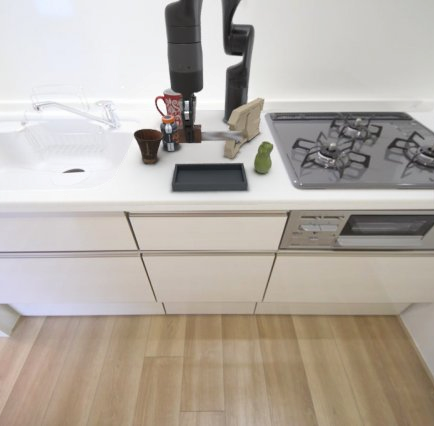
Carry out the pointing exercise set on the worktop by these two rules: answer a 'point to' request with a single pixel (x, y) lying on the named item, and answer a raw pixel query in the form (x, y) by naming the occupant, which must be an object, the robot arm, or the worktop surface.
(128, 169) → the worktop surface
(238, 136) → the knife
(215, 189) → the dark grey tray
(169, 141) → the pill bottle
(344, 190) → the worktop surface
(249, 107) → the gun
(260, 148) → the pear
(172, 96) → the mug
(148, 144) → the cup
